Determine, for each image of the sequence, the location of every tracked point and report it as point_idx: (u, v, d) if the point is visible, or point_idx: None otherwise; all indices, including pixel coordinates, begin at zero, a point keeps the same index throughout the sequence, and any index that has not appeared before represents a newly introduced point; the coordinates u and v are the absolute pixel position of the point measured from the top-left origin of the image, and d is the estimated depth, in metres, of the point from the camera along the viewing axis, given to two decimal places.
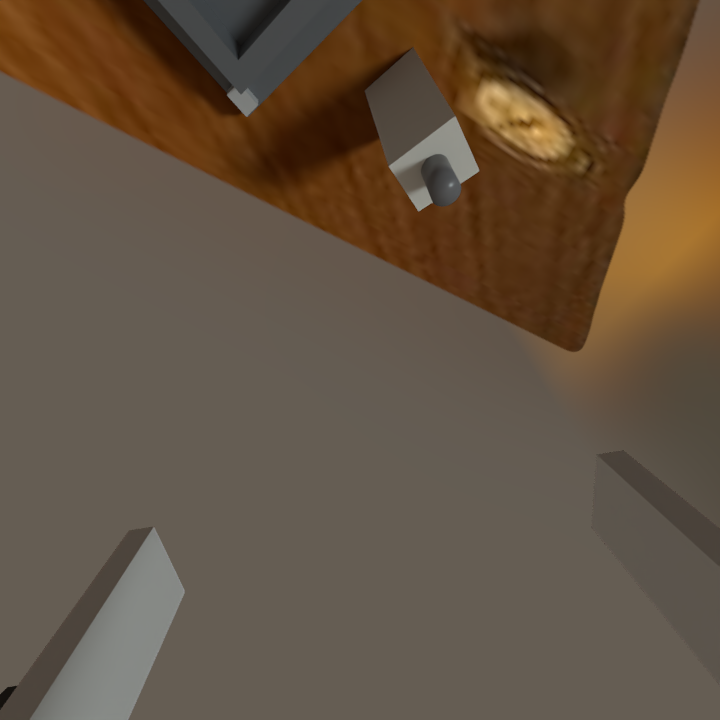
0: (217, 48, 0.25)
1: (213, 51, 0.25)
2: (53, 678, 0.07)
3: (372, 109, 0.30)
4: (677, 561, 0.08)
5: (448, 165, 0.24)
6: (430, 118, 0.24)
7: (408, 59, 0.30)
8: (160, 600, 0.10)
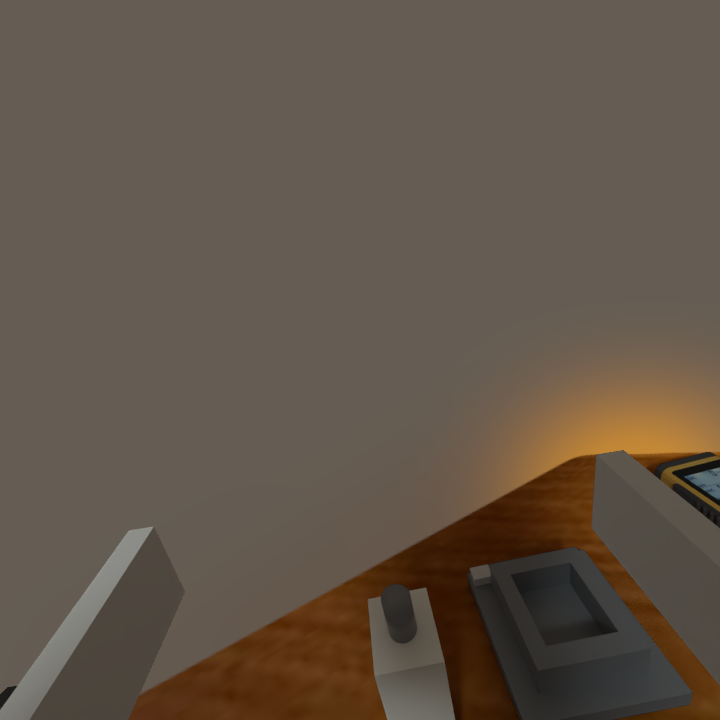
0: (520, 566, 0.36)
1: (519, 563, 0.37)
2: (53, 678, 0.07)
3: None
4: (677, 561, 0.08)
5: (409, 626, 0.24)
6: None
7: None
8: (160, 600, 0.10)
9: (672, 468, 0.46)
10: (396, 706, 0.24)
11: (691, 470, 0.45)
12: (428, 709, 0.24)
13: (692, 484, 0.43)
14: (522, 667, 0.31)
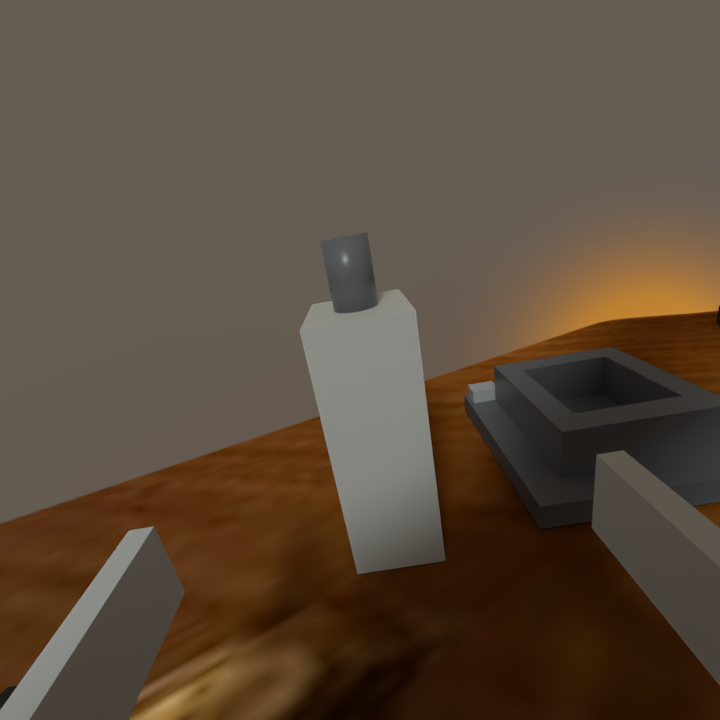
0: (536, 364, 0.27)
1: (534, 362, 0.27)
2: (53, 678, 0.07)
3: None
4: (677, 561, 0.08)
5: (362, 276, 0.15)
6: None
7: None
8: (160, 600, 0.10)
9: None
10: (338, 409, 0.15)
11: None
12: (389, 422, 0.15)
13: None
14: (536, 458, 0.22)
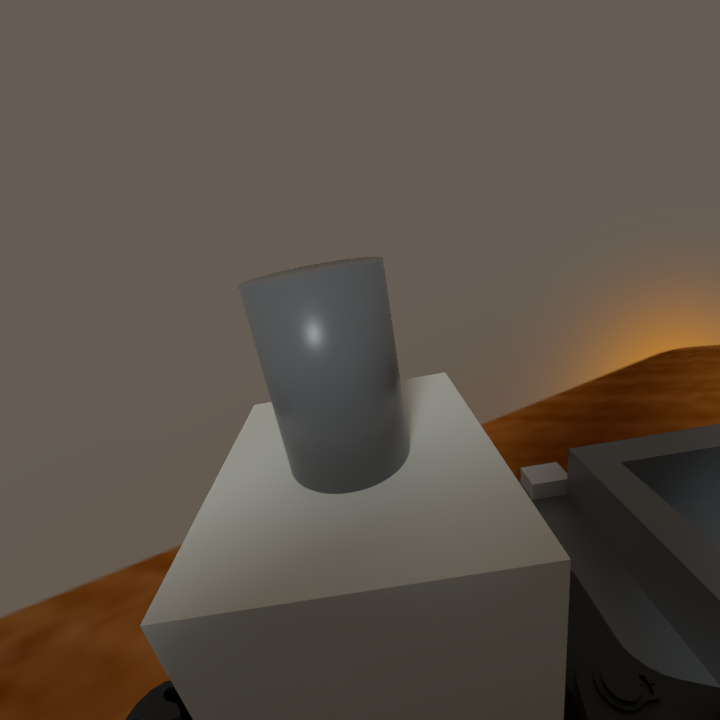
0: (639, 450, 0.17)
1: (635, 445, 0.17)
2: None
3: None
4: None
5: (368, 397, 0.05)
6: None
7: None
8: None
9: None
10: None
11: None
12: None
13: None
14: (686, 661, 0.12)
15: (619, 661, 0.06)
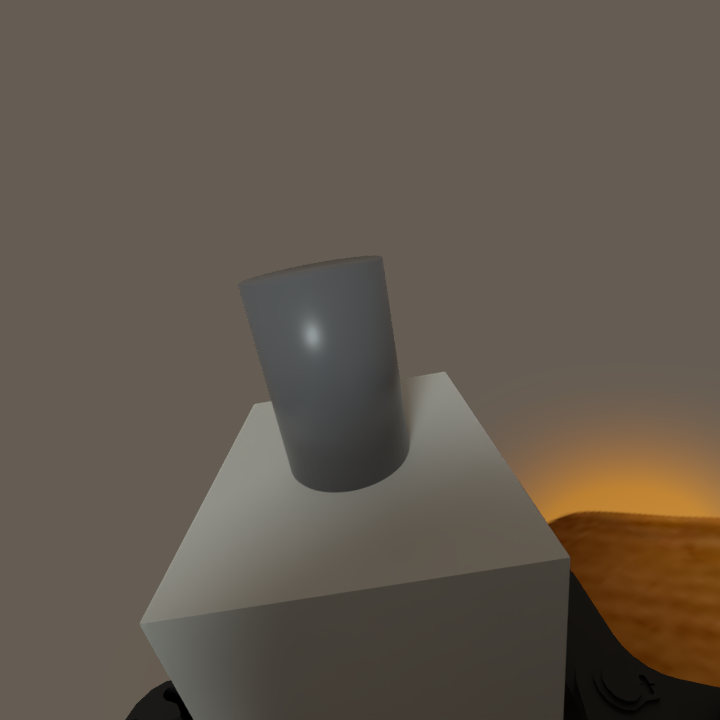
0: None
1: None
2: None
3: None
4: None
5: (368, 395, 0.05)
6: None
7: None
8: None
9: None
10: None
11: None
12: None
13: None
14: None
15: (619, 661, 0.06)
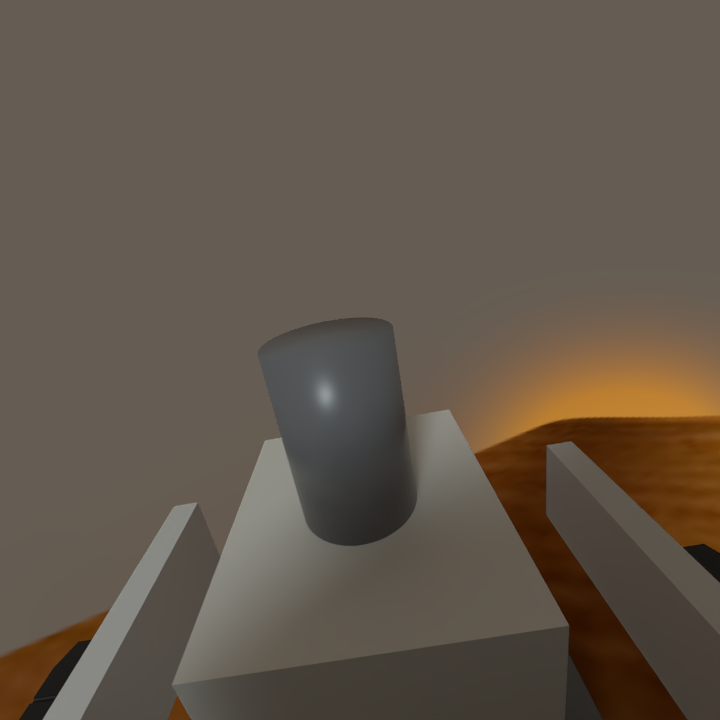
0: None
1: None
2: (126, 630, 0.08)
3: None
4: (606, 540, 0.09)
5: (379, 459, 0.05)
6: None
7: None
8: (204, 571, 0.11)
9: None
10: None
11: None
12: None
13: None
14: None
15: None
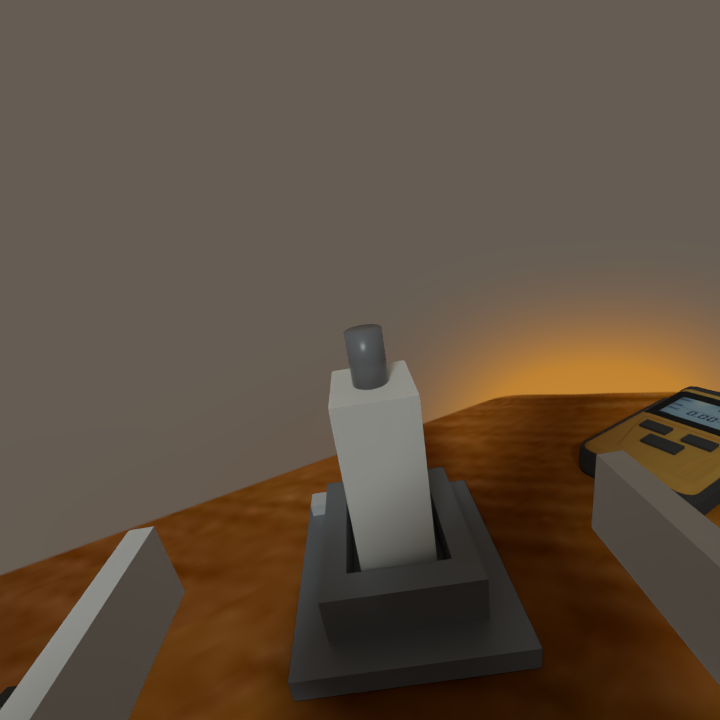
0: None
1: None
2: (53, 678, 0.07)
3: None
4: (677, 561, 0.08)
5: (377, 363, 0.19)
6: None
7: None
8: (160, 600, 0.10)
9: (692, 391, 0.35)
10: (355, 467, 0.19)
11: (706, 399, 0.34)
12: (396, 478, 0.19)
13: (671, 400, 0.35)
14: None
15: None
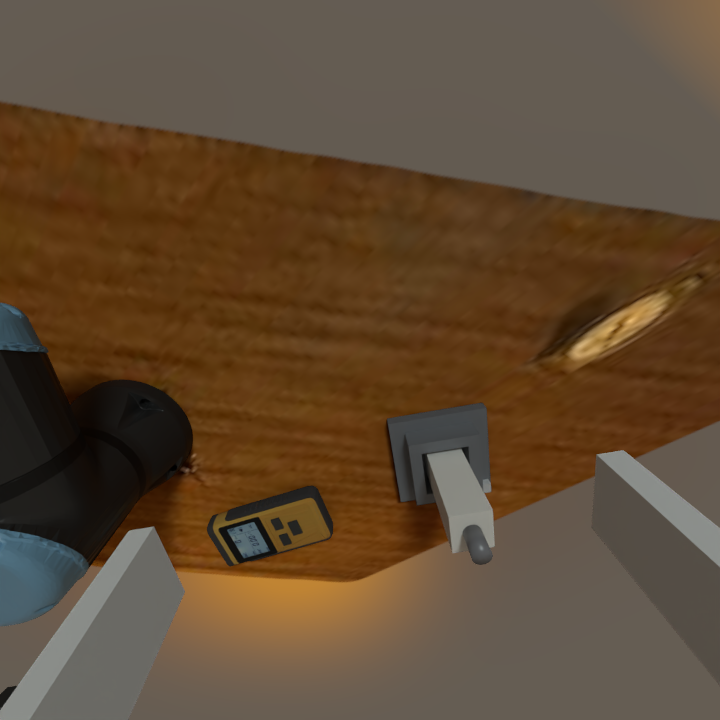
0: None
1: None
2: (53, 678, 0.07)
3: None
4: (677, 561, 0.08)
5: (471, 537, 0.36)
6: (445, 514, 0.39)
7: (425, 454, 0.48)
8: (160, 600, 0.10)
9: (234, 561, 0.53)
10: (473, 487, 0.40)
11: (236, 552, 0.53)
12: (452, 483, 0.41)
13: (253, 557, 0.53)
14: None
15: None
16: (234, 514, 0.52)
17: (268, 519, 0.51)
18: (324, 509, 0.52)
